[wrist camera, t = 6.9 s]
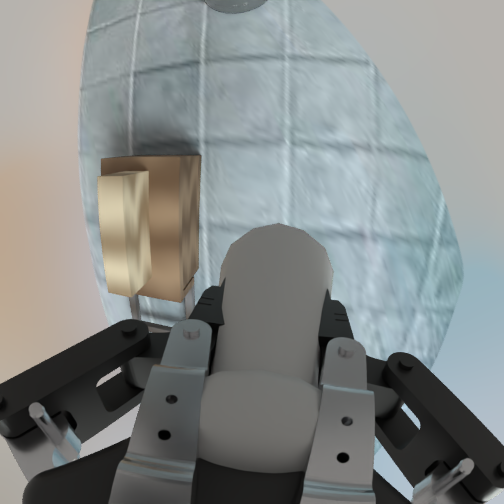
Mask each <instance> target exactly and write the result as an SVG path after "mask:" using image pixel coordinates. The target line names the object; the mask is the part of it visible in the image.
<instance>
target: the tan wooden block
mask: <svg viewBox="0 0 504 504" xmlns="http://www.w3.org/2000/svg"><path fill="white" fill-rule="evenodd" d="M183 160H184V156H150V157H119V158H104V159H101V176H98V177H97V181H98V207H99V222H100V234H101V243H102V252H103V260H104V267H105V274H106V281H107V287H108V292H109V293H113V294H118V295H122V296H127V297H129V301H130V307H131V313H132V319H136V320H140V321H142V320H141V314H140V307H139V300H138V295H142V296H147V297H153V298H158V299H163V300H168V301H174V302H179V303H181V302H182V301H183V299H184V298H185V308H186V320H187V319H188V318H189V316H190V314H191V313H192V311H193V309H194V308H195V299H194V277H192V278H191V280H190V281H189V282H188V284H187V285H186V286H185V288H184V289H183V262H182V189H183ZM142 322H144V323H145V324H146V325H147V326H148V329H149V332H153V333H162V332H171V329H172V327H168V326H163V325H159V324H154V323H150V322H146V321H142Z"/></svg>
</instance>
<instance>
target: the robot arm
mask: <svg viewBox="0 0 504 504" xmlns="http://www.w3.org/2000/svg"><path fill="white" fill-rule="evenodd" d="M204 1H205V2H206V3H207V4H208V6H209V7H211V8H212V9H214V10H217V11H219V12H224V13H242V12H246V11H250V10H252V9H255V8H257V7H259V6H261V5H262V4H263V3H265V2H266V1H267V0H204ZM225 280H226V277H225V278H224V280H223V282H222V284H221V286H220V287H219V286H211V287H209V288H208V289H206V290H205V291H204V292H203V294H202V296H201V298H200V299H199V301H198V304H196V306H195V308H194V309H193V311H192V313H191V314H190V316H189V318H188V319H187V320H182V321H180V322H178V323H176V324H175V325H174V326H173V327H172V329H171V332H162V333H149V329H148V326H147V325H146V324H145V323H144V322H142V321H140V320H136V319H127V320H123V321H120V322H118V323H116V324H114V325H112V326H110V327H108V328H107V329H104V330H103V331H101V332H99V333H97V334H95V335H93V336H91V337H89V338H87V339H85V340H84V341H82V342H80V343H78V344H76V345H74V346H72V347H70V348H68V349H66V350H64V351H62V352H61V353H59V354H57V355H55V356H53V357H51V358H49V359H47V360H45V361H43V362H41V363H40V364H38V365H36V366H34V367H32V368H30V369H28V370H26V371H24V372H22V373H21V374H19V375H17V376H15V377H13V378H11V379H9V380H7V381H6V382H3V383H1V384H0V435H1V436H2V437H3V438H4V439H5V440H6V441H7V443H8V445H9V448H10V450H11V452H12V453H13V456H14V457H15V459H16V461H17V463H18V465H19V467H20V468H21V470H22V472H23V474H24V475H25V477H26V479H27V480H28V482H29V483H28V484H27V486H26V488H25V490H24V493H23V499H22V500H23V501H22V502H23V504H485V503H486V502H488V501H489V500H491V499H492V498H494V497H495V496H497V495H498V494H500V493H501V492H502V491H504V446H503V445H502V444H501V443H500V441H499V440H498V439H497V438H496V437H495V436H494V435H493V434H492V433H491V432H490V431H489V430H488V429H487V428H486V427H485V425H483V424H482V422H481V421H480V420H479V419H478V418H477V417H476V416H475V415H474V414H473V413H472V412H471V411H470V410H469V409H468V408H467V407H466V406H465V405H464V404H463V403H462V402H461V401H460V400H459V399H458V398H457V397H456V396H455V395H454V394H453V393H452V392H451V391H450V390H449V389H448V388H447V387H446V386H445V385H444V384H443V383H442V382H441V381H440V380H439V379H438V378H437V377H436V376H435V375H434V374H433V373H432V372H431V371H430V370H429V369H428V368H427V367H426V366H425V365H424V364H422V363H421V362H420V361H419V360H418V359H417V358H416V357H414V356H413V355H411V354H408V353H404V352H397V353H393V354H391V355H390V356H389V358H388V360H387V361H383V360H379V359H375V358H372V357H369V356H367V355H366V351H365V348H364V347H363V346H362V345H361V344H360V343H359V342H357V341H356V340H354V337H353V333H352V330H351V326H350V323H349V319H348V316H347V313H346V309H345V307H344V306H343V305H342V304H341V303H340V302H339V301H338V300H331V298H330V294H329V290H328V288H327V290H326V295H325V299H324V303H323V307H322V313H321V319H320V326H319V332H318V341H319V346H320V348H321V358H320V367H319V375H318V389H319V390H321V401H320V409H319V416H318V421H317V425H316V430H315V435H314V439H313V443H312V446H311V449H310V452H309V455H308V458H307V461H306V463H305V466H304V468H303V471H297V472H287V473H262V472H252V471H244V470H238V469H234V468H230V467H226V466H222V465H218V464H214V463H211V462H209V461H206V460H204V459H202V458H199V421H200V410H201V399H202V394H203V388H204V382H205V379H206V377H208V376H210V375H211V364H212V361H213V357H214V353H215V348H216V342H217V336H218V330H219V326H222V325H225V323H224V317H223V311H222V302H223V295H224V287H225ZM118 367H120V368H121V371H122V372H120V373H119V374H117V375H116V376H114V377H112V378H111V379H109V380H108V381H106V382H104V383H103V384H101V385H100V386H98V387H96V385H97V383H98V381H99V380H100V379H101V378H102V377H104V376H105V375H107V374H109V373H110V372H112V371H113V370H115V369H117V368H118ZM140 403H141V404H140ZM404 403H405V404H406V405H407V406H408V408H409V409H410V410H411V411H412V412H413V413H414V414H415V415H416V417H417V418H418V419H419V421H420V425H421V426H420V430H419V429H418V428H417V426H416V425H415V424H414V423H413V422H412V420H411V419H410V418H409V417H408V416H407V414H406V413H405V412H404V411H403V410H402V409H401V407H402V405H403V404H404ZM138 404H140V407H139V411H138V414H137V417H136V421H135V424H134V428H133V432H132V435H131V437H129V438H127V439H125V440H122V441H120V442H118V443H116V444H114V445H112V446H109V447H107V448H104V449H102V450H100V451H98V452H95V453H93V454H90V455H88V456H85V457H83V458H80V459H79V457H80V455H79V453H80V450H81V444H82V443H84V442H85V441H87V440H88V439H90V438H91V437H93V436H94V435H96V434H97V433H99V432H100V431H102V430H103V429H104V428H106V427H107V426H109V425H110V424H112V423H113V422H115V421H116V420H117V419H119V418H120V417H122V416H123V415H124V414H126V413H127V412H129V411H130V410H131V409H133V408H134V407H135V406H137V405H138ZM375 436H376V438H377V439H378V440H379V442H380V443H381V444H382V446H383V447H384V449H385V450H386V451H387V453H388V454H389V455H390V457H391V458H392V460H393V461H394V462H395V464H396V465H397V466H398V467H399V469H400V470H401V472H402V473H403V475H404V476H405V477H406V479H407V480H408V481H409V483H410V484H411V485H412V486H413V488H414V490H413V498H412V500H411V502H410V501H409V500H408V499H407V498H405V497H404V496H403V495H402V494H401V493H400V492H398V491H397V490H396V489H395V488H394V487H393V486H392V485H391V484H389V483H388V482H387V481H386V480H385V479H384V478H383V477H382V476H381V475H380V474H378V473H377V472H376V471H375V470H374V469H373V464H374V442H375Z"/></svg>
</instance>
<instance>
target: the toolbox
mask: <svg viewBox="0 0 504 504" xmlns="http://www.w3.org/2000/svg"><path fill="white" fill-rule="evenodd" d="M150 156H184V160H183V189H182V262H183V289H184V288H185V286H186V285H187V284H188V282H189V281H190V280H191V278H192V277H193V276H194V274H195V273H196V272H197V270H198V269H199V201H200V175H201V155H138V156H123V157H150ZM113 158H119V157H113Z"/></svg>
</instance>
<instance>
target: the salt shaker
mask: <svg viewBox="0 0 504 504" xmlns="http://www.w3.org/2000/svg"><path fill="white" fill-rule="evenodd" d="M333 273H334V271H333V268H332V265H331V263H330V260H329V257H328V254H327V252H326V249H325V248H324V247H323V246H322V245H321V244H320V243H318V242H317V241H316V240H315V239H314V238H312V237H311V236H310V235H309V234H308V233H306V232H305V231H304V230H301V229H297V228H294V227H291V226H287V225H284V224H280V223H277V224H272V225H268V226H263V227H258V228H254V229H252V230H251V231H249V232H248V233H246V234H245V235H244V236H242V237H241V238H239V239H238V240H237V241H235V242H234V243H233V244H231V246H230V248H229V250H228V252H227V255H226V257H225V259H224V261H223V263H222V265H221V272H220V281H219V287H220V286H221V284H222V282H223V280H224V278H225V277H226V280H225V287H224V295H223V302H222V311H223V317H224V323H225V325H222V326H219V330H218V336H217V342H216V348H215V353H214V357H213V361H212V364H211V375H210V376H208V377H206V379H205V382H204V388H203V394H202V399H201V410H200V421H199V458H202V459H204V460H206V461H209V462H211V463H214V464H218V465H222V466H226V467H230V468H234V469H238V470H244V471H252V472H262V473H287V472H297V471H303V468H304V466H305V463H306V461H307V458H308V455H309V452H310V449H311V446H312V443H313V439H314V435H315V430H316V425H317V421H318V416H319V409H320V401H321V390H319V389H318V375H319V367H320V358H321V348H320V346H319V341H318V332H319V326H320V319H321V313H322V307H323V303H324V299H325V295H326V290H327V288H328V290H329V294H330V298H331V291H332V282H333Z"/></svg>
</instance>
